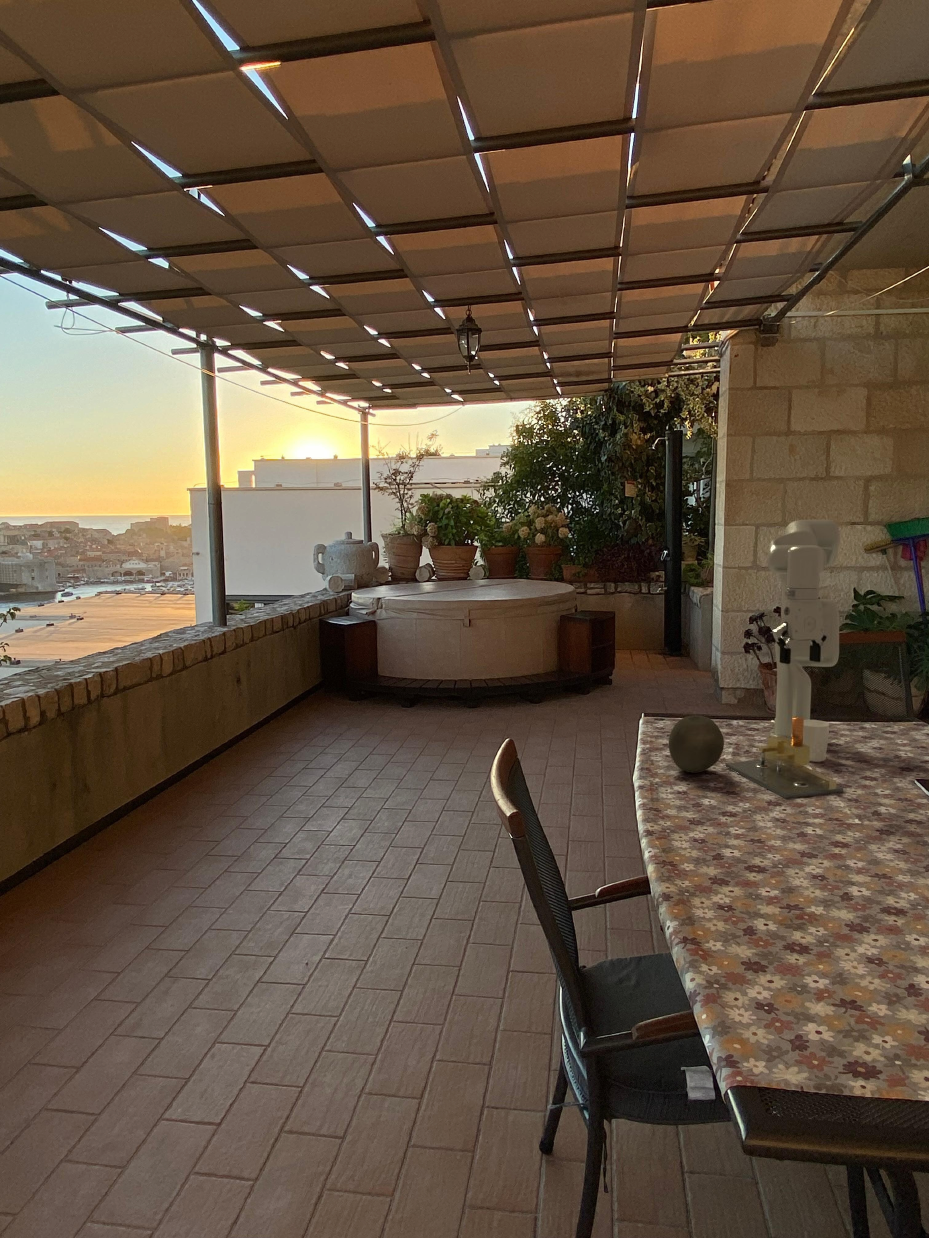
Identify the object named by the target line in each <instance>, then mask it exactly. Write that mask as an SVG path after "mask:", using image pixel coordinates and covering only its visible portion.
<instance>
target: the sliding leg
mask: <svg viewBox="0 0 929 1238" xmlns="http://www.w3.org/2000/svg"><path fill="white" fill-rule="evenodd" d="M803 728H804V718H803V717H792V733H791V742H790V743H784V754H775V758H776V759H778V761H777V772H779V773H780V772H781V760H783V759H784V761H783V762H785V763H787V764H789V765H792V766H794V767H796V766H804V767H806V766H810V761H809V757H810V746H808V745H806V744H803Z"/></svg>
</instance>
